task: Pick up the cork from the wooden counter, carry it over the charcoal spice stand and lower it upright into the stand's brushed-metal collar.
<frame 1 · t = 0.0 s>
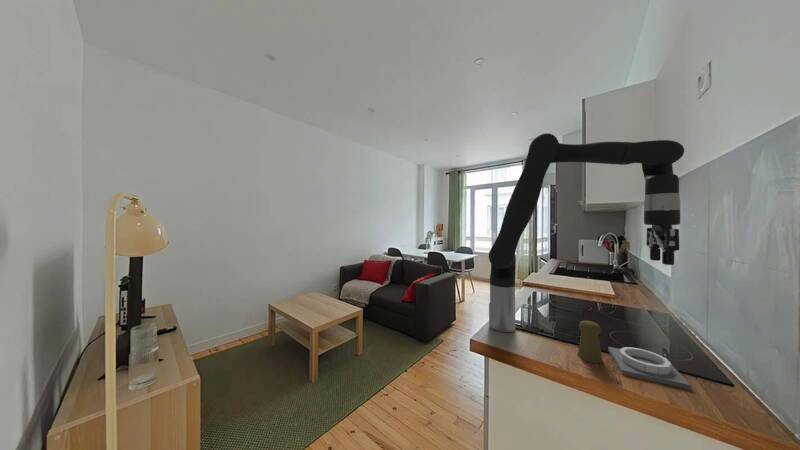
hand: (661, 262, 73), 29 cm above the counter, fingers open, 8 cm apart
cork: (589, 358, 74), on the counter
spice stand: (644, 367, 69), on the counter
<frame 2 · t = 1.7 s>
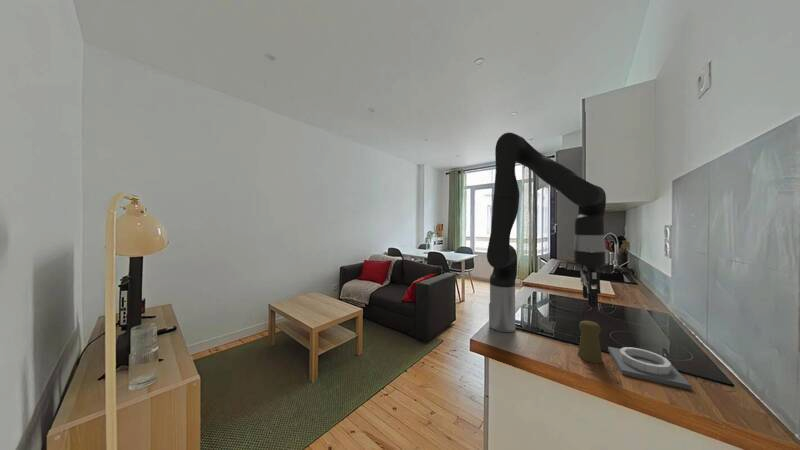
hand: (589, 302, 74), 17 cm above the counter, fingers open, 8 cm apart
nothing on the counter moved.
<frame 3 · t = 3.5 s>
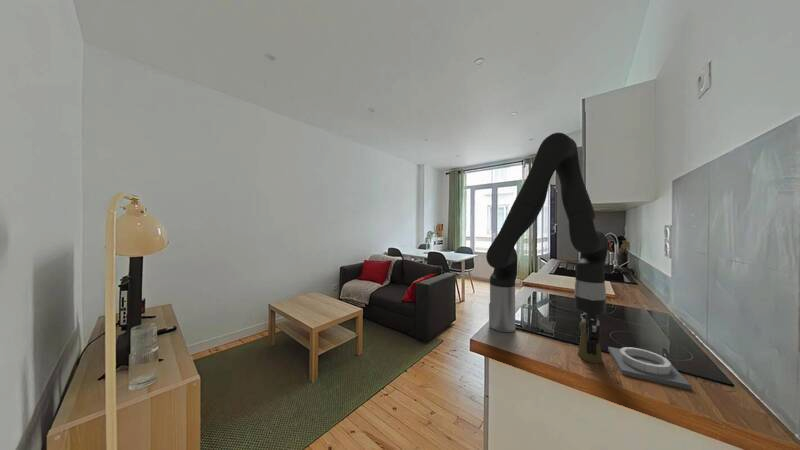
hand: (589, 350, 74), 2 cm above the counter, fingers closed on cork, 4 cm apart
cork: (589, 358, 74), on the counter, touching gripper
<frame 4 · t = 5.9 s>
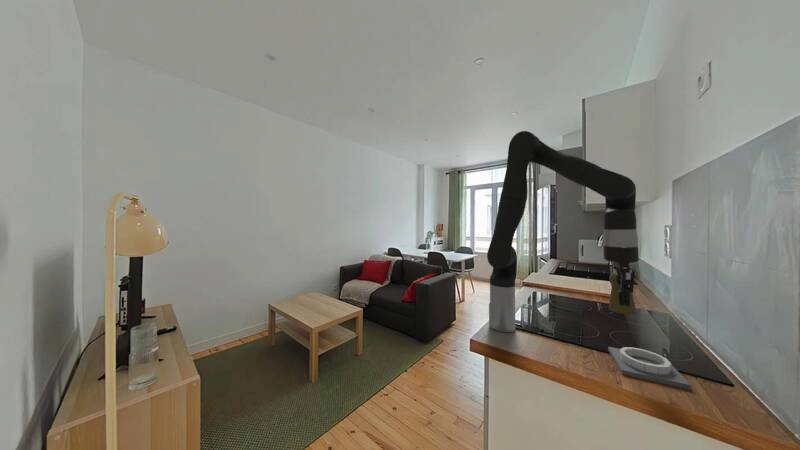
hand: (621, 303, 70), 18 cm above the counter, fingers closed on cork, 4 cm apart
cork: (622, 311, 70), point 16 cm above the counter, touching gripper
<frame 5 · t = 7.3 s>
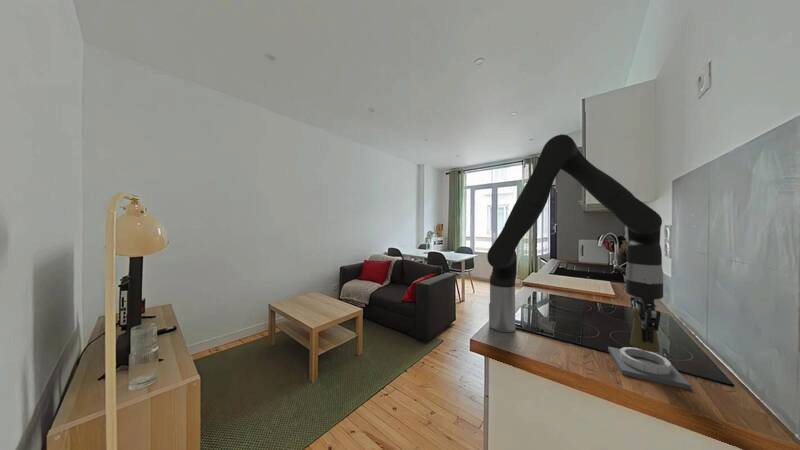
hand: (644, 338, 69), 8 cm above the counter, fingers closed on cork, 4 cm apart
cork: (644, 347, 69), point 6 cm above the counter, touching gripper
when the fingers open (5 cm above the counter, at t = 8.3 s): cork drops 1 cm, resting on spice stand.
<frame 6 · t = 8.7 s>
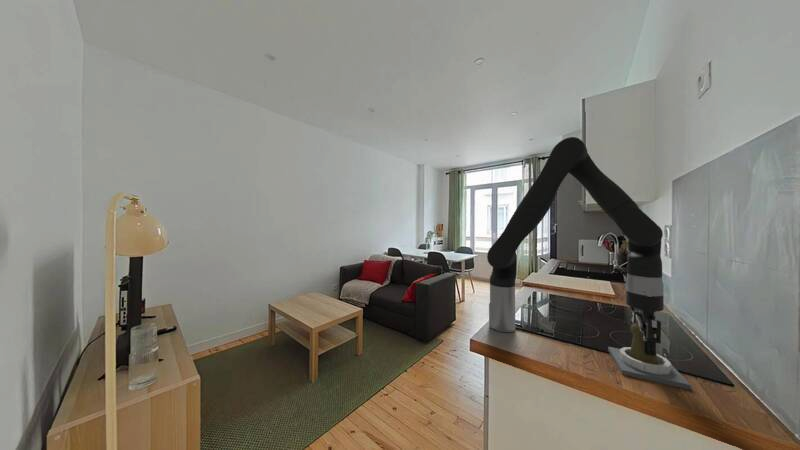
hand: (644, 348, 69), 6 cm above the counter, fingers open, 7 cm apart
cork: (643, 363, 69), point 1 cm above the counter, touching spice stand
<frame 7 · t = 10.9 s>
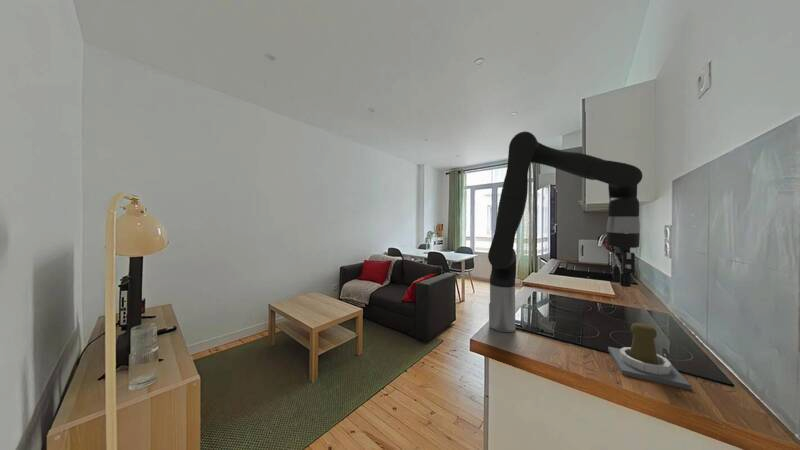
hand: (621, 283, 75), 23 cm above the counter, fingers open, 8 cm apart
nothing on the counter moved.
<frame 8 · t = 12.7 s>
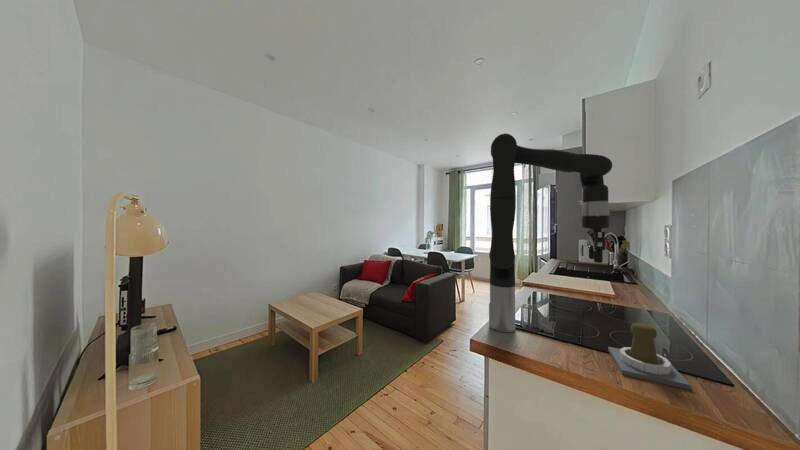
hand: (595, 260, 85), 28 cm above the counter, fingers open, 8 cm apart
nothing on the counter moved.
at the end: cork 0.1 cm off-centre on the spice stand, point 1.0 cm above the spice stand's base; cork tilted 0°; the gripper is holding nothing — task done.
